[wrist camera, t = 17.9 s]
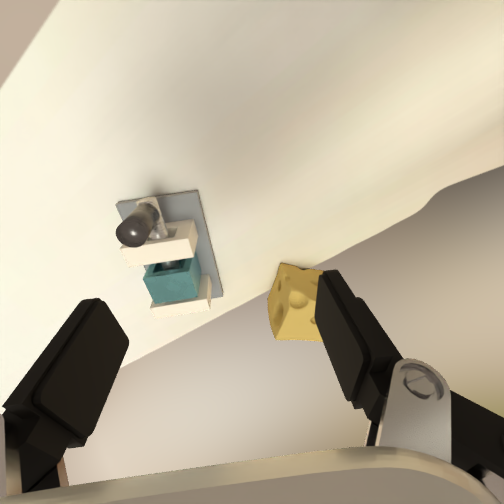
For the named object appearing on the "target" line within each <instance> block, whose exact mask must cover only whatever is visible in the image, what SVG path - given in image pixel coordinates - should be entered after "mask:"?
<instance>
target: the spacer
mask: <svg viewBox="0 0 504 504" xmlns="http://www.w3.org/2000/svg"><path fill="white" fill-rule="evenodd" d="M178 261H179V264H180V267H181V268H180V269H174V270H167V271H164V270H163V267H162V265H161V262H160V263H154V264H150V265H149V267H148V269H147V271H146V273H145V275H144V277H143V280H144V282H145V284H146V286H147V289H148V291H149V293H150V295H151V297H152V299H153V301H154V303H155V304H158V303H165V302H171V301H177V300H183V299H189V298H195V297H198V292H199V285H200V278H201V271H202V270H201V267H200V263H199V260H198V257H197V253H196V250H195V253H194V257H192V258H185V259H179V260H178Z"/></svg>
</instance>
